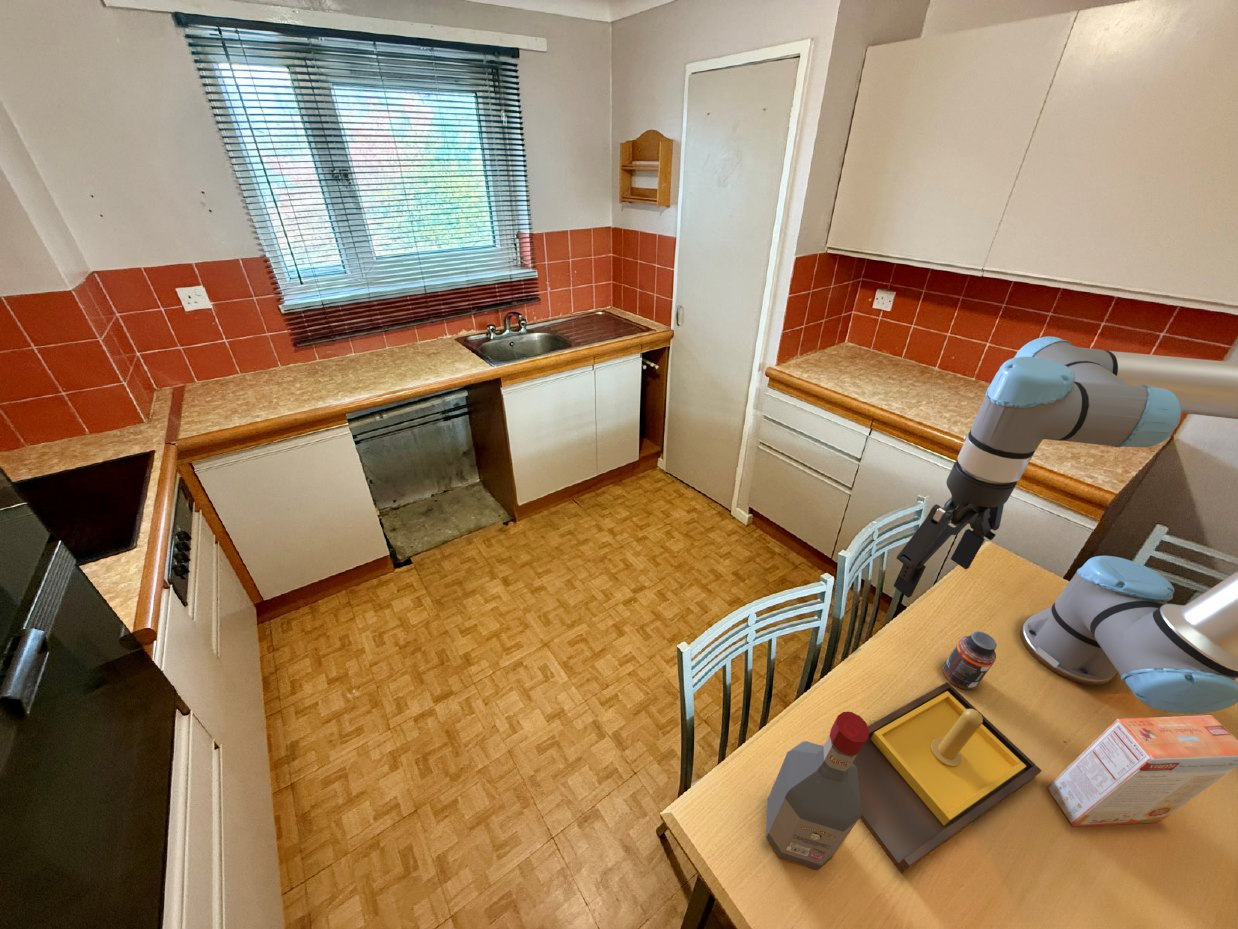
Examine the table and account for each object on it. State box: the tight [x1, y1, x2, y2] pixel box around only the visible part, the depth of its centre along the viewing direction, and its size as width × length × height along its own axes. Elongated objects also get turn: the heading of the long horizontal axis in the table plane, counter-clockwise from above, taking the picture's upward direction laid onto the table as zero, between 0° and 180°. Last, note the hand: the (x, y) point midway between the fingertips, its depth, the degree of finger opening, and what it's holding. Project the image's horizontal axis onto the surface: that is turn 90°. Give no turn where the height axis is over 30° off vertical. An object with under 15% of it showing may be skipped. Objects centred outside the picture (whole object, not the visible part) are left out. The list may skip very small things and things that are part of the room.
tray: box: [871, 691, 1026, 826], centre depth 80 cm, size 18×14×13 cm
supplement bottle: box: [942, 630, 998, 690], centre depth 94 cm, size 6×6×11 cm
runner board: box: [853, 681, 1042, 875], centre depth 82 cm, size 30×17×3 cm, turn 115°
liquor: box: [765, 711, 869, 871], centre depth 67 cm, size 9×9×30 cm
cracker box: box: [1046, 714, 1238, 827], centre depth 73 cm, size 14×6×21 cm, turn 92°
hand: (931, 577), depth 81 cm, fingers open, 13 cm apart
